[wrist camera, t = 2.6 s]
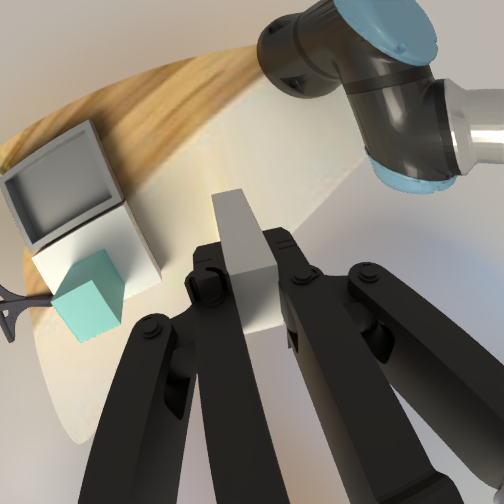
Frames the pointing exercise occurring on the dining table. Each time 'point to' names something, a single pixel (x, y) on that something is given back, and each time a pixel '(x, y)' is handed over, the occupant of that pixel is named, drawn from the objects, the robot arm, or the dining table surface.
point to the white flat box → (96, 239)
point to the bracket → (18, 309)
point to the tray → (60, 186)
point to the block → (90, 297)
